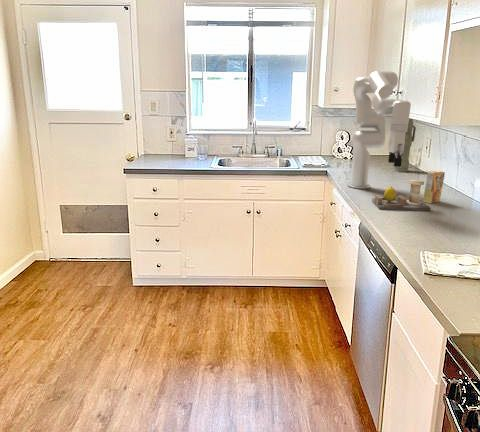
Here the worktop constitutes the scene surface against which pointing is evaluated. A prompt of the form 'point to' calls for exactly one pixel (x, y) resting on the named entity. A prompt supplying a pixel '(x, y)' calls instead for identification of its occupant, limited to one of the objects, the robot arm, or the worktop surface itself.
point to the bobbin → (414, 192)
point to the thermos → (407, 147)
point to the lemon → (390, 194)
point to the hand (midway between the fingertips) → (394, 164)
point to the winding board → (398, 204)
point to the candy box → (433, 186)
